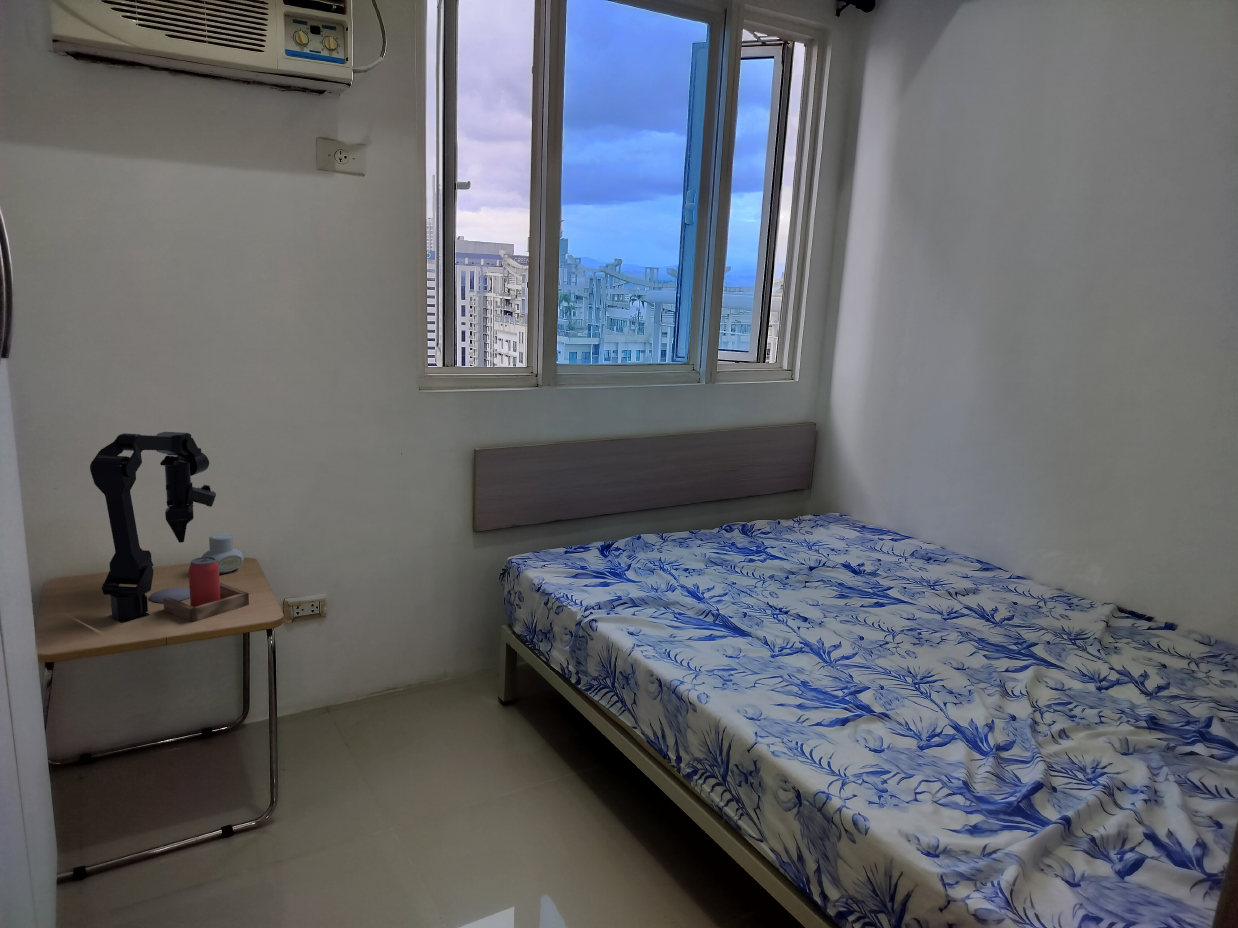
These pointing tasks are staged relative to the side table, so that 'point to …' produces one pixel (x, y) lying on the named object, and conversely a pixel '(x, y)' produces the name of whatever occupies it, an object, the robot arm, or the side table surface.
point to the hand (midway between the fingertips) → (181, 537)
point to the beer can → (204, 581)
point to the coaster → (171, 594)
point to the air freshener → (224, 552)
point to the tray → (209, 604)
